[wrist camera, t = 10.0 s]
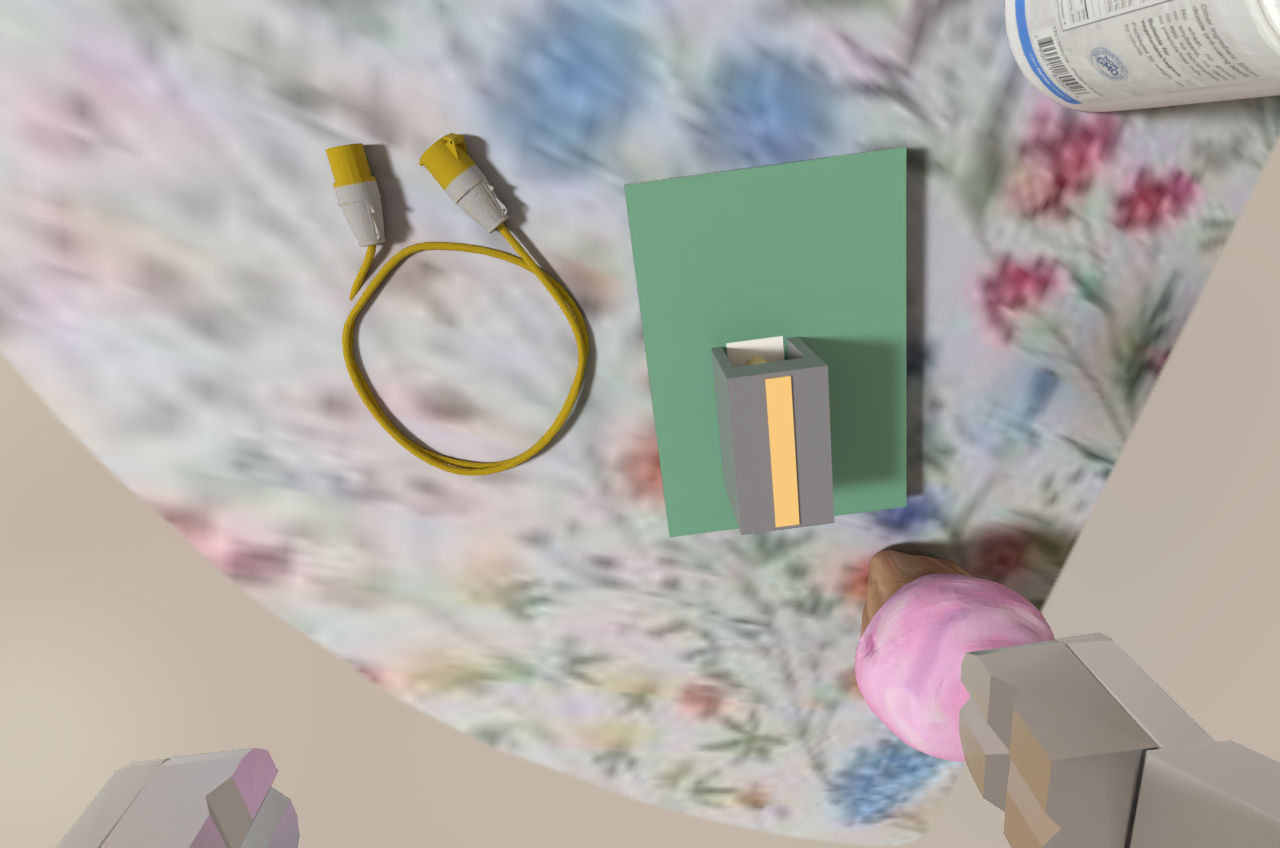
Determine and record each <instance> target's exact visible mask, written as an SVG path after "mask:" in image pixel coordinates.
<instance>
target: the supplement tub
mask: <svg viewBox="0 0 1280 848" xmlns="http://www.w3.org/2000/svg"><path fill="white" fill-rule="evenodd" d="M1005 21H1006V30H1007V36H1008V40H1009V43H1010V47H1011V50H1012V53H1013V55H1014V57H1015V60H1016V62H1017V64H1018V66H1019V68H1020V69H1021V71H1022V73H1023V74H1024V75H1025V77H1026V78H1027V79H1028V80H1029V82H1030V83H1031V84H1032V85H1033V86H1034V87H1035V88H1036V89H1037V90H1038V91H1039V92H1041V93H1042V94H1043V95H1045V96H1046V97H1047V98H1049V99H1051V100H1053V101H1054V102H1056V103H1058V104H1060V105H1063V106H1065V107H1068V108H1071V109H1075V110H1079V111H1085V112H1112V111H1125V110H1136V109H1146V108H1156V107H1166V106H1176V105H1186V104H1196V103H1206V102H1216V101H1227V100H1237V99H1247V98H1257V97H1267V96H1278V95H1280V0H1005Z"/></svg>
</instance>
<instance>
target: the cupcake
mask: <svg viewBox="0 0 1280 848" xmlns="http://www.w3.org/2000/svg"><path fill="white" fill-rule="evenodd" d="M1053 640H1055V639H1054V635H1053V633H1052V631H1051V628H1050V626H1049V625H1048V623H1047V622H1046V620H1045V618H1044V617H1043V615H1042V613H1041V612H1040V611H1039V610H1038V609H1037V608H1036V607H1035V606H1034V605H1033V604H1032V603H1031V602H1030V601H1028V600H1027V599H1026V598H1024V597H1023V596H1021V595H1020V594H1018V593H1017V592H1015V591H1013V590H1011V589H1009V588H1008V587H1006V586H1004V585H1001V584H999V583H997V582H993V581H989V580H985V579H980V578H975V577H974V576H972V575H970V574H969V573H968V572H966V571H965V570H964V569H963V568H962V567H960V566H958V565H957V564H955V563H954V562H952V561H947V560H942V559H937V558H931V557H928V556H925V555H910V554H905V553H902V552H899V551H895V550H883V551H880V552H878V553H877V554H875V555H874V556H873V558H872V559H871V561H870V564H869V576H868V591H867V601H866V604H865V607H864V610H863V615H862V625H861V638H860V640H859V643H858V646H857V651H856V656H855V673H856V680H857V684H858V687H859V689H860V692H861V694H862V696H863V698H864V699H865V701H866V702H867V704H868V705H869V707H870V708H871V710H872V711H873V712H874V713H875V714H876V715H877V716H878V718H879V719H880V720H881V721H882V722H883V723H884V724H885V725H886V726H887V727H888V728H889V729H890V730H891V731H892V732H893V733H894V734H895V735H896V736H897V737H899V738H900V739H901V740H902V741H904V742H905V743H906V744H907V745H909V746H911V747H913V748H914V749H917V750H919V751H921V752H924V753H926V754H928V755H931V756H934V757H938V758H942V759H946V760H950V761H962V762H966V760H965V758H964V753H963V748H962V744H961V739H960V735H959V710H960V709H961V708H962V707H963V705H964V704H965V703H966V702H967V700H968V699H969V698H970V697H971V696H970V695H969V693H968V691H967V690H966V688H965V687H964V685H963V684H962V682H961V680H960V679H961V663H962V660H963V658H964V656H965V654H966V652H973V651H980V650H987V649H994V648H1001V647H1009V646H1016V645H1023V644H1030V643H1037V642H1044V641H1053Z"/></svg>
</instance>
